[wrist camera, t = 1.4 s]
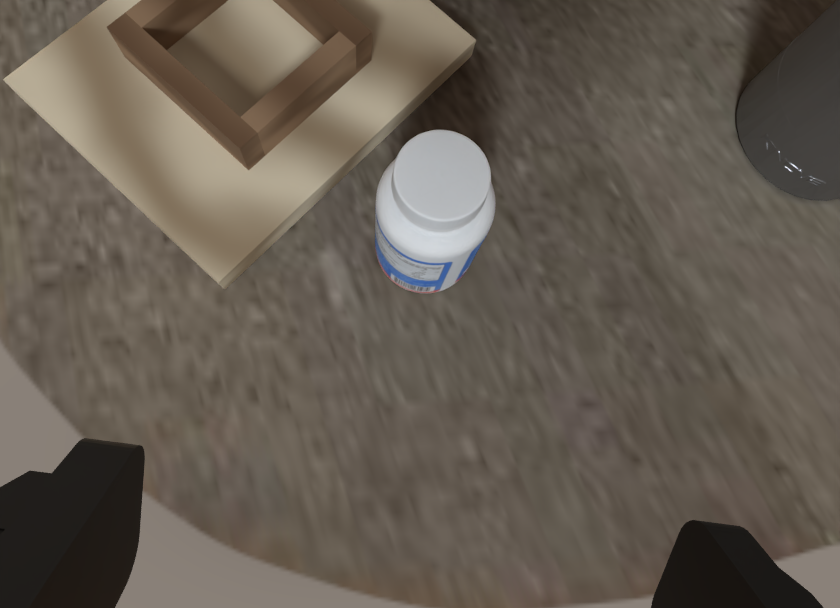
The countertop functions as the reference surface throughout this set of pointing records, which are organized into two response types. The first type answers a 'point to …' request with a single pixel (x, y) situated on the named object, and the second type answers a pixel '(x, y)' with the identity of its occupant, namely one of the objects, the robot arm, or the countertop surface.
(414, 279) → the pill bottle
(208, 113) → the collar board
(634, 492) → the countertop surface
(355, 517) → the countertop surface
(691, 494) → the countertop surface
